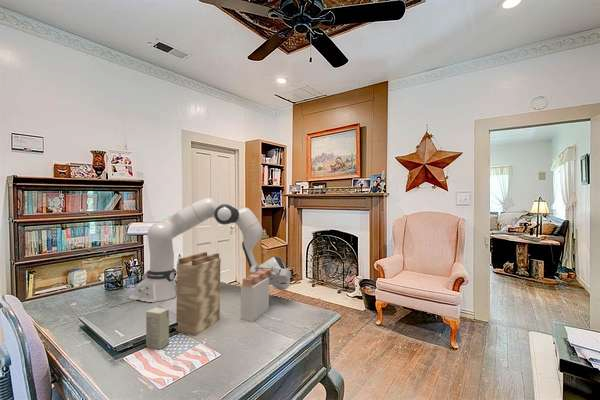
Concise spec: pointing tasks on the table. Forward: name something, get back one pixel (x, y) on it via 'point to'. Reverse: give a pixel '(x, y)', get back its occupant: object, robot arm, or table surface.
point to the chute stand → (198, 292)
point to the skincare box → (157, 328)
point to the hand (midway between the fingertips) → (264, 267)
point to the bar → (256, 277)
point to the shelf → (254, 300)
